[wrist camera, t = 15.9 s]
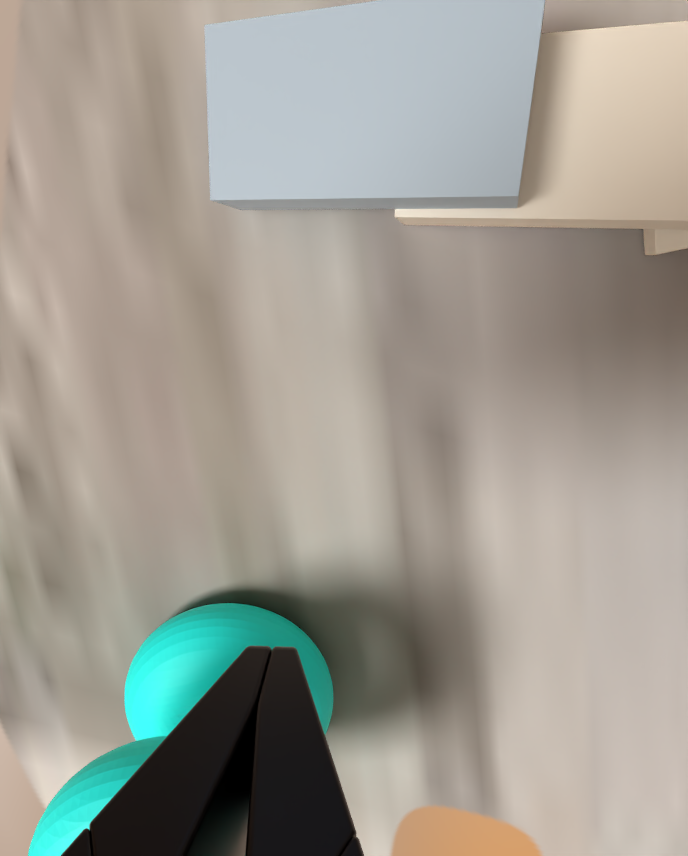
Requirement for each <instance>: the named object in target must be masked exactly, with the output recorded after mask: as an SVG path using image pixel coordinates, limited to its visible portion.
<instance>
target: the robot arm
mask: <svg viewBox="0 0 688 856" xmlns="http://www.w3.org/2000/svg"><path fill="white" fill-rule="evenodd" d="M89 828H90V830H89V829H87V828H86V829H84V830H83V831H82V832H81V833H80V834H79V835H78V837H77V838H76V839H75V840H74V841H73V842H72V843H71V844H70V846H69V847H68V848H67V849H66V850H65V851H64V852H63V853H62V855H61V856H364V854H363V851H362V848H361V844H360V841H359V839H358V838H357V837H356V830H355V827H354V824H353V821H352V818H351V815H350V811H349V808H348V805H347V802H346V799H345V796H344V793H343V790H342V787H341V784H340V781H339V777H338V774H337V771H336V768H335V765H334V762H333V759H332V756H331V753H330V750H329V747H328V743H327V740H326V737H325V734H324V731H323V728H322V725H321V722H320V719H319V716H318V713H317V709H316V706H315V703H314V700H313V697H312V694H311V691H310V688H309V685H308V682H307V679H306V675H305V672H304V669H303V666H302V663H301V660H300V657H299V654H298V651H297V649H296V648H295V647H280V646H276V647H274V648H273V649H271V648H270V647H269V646H248V647H247V648H245V649H244V651H243V652H242V653H241V654H240V655H239V656H238V657H237V658H236V660H235V661H234V662H233V663H232V664H231V665H230V666H229V667H228V669H227V670H226V671H225V672H224V673H223V674H222V675H221V676H220V678H219V679H218V680H217V681H216V682H215V683H214V684H213V685H212V687H211V688H210V689H209V690H208V691H207V692H206V693H205V694H204V695H203V697H202V698H201V699H200V700H199V701H198V702H197V703H196V704H195V706H194V707H193V708H192V709H191V710H190V711H189V712H188V713H187V715H186V716H185V717H184V718H183V719H182V720H181V721H180V722H179V724H178V725H177V726H176V727H175V728H174V729H173V730H172V731H171V733H170V734H169V735H168V736H167V737H166V738H165V739H164V740H163V742H162V743H161V744H160V745H159V746H158V747H157V748H156V749H155V751H154V752H153V753H152V754H151V755H150V756H149V757H148V758H147V760H146V761H145V762H144V763H143V764H142V765H141V766H140V767H139V768H138V770H137V771H136V772H135V773H134V774H133V775H132V776H131V777H130V779H129V780H128V781H127V782H126V783H125V784H124V785H123V786H122V788H121V789H120V790H119V791H118V792H117V793H116V794H115V795H114V797H113V798H112V799H111V800H110V801H109V802H108V803H107V804H106V806H105V807H104V808H103V809H102V810H101V811H100V812H99V813H98V815H97V816H96V817H95V818H94V819H93V820H92V821H91V822H90V825H89Z"/></svg>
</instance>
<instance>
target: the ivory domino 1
mask: <svg viewBox="0 0 688 856" xmlns="http://www.w3.org/2000/svg"><path fill="white" fill-rule="evenodd" d="M395 218H396V219H398V220H399V221H400V222H401V223H403V224H404V225H433V226H494V227H556V228H617V229H678V230H688V21H678V22H666V23H655V24H643V25H632V26H620V27H608V28H597V29H585V30H574V31H562V32H551V33H541V37H540V45H539V52H538V59H537V67H536V74H535V81H534V89H533V96H532V103H531V111H530V118H529V125H528V133H527V140H526V147H525V155H524V162H523V169H522V177H521V184H520V191H519V199H518V206H517V208H470V209H395Z"/></svg>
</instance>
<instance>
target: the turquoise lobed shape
mask: <svg viewBox="0 0 688 856" xmlns="http://www.w3.org/2000/svg"><path fill="white" fill-rule="evenodd" d="M248 646H269V647H270V648H271V649H273V648H274V647H276V646H280V647H295V648H296V649H297V651H298V654H299V657H300V660H301V663H302V666H303V669H304V672H305V675H306V679H307V682H308V685H309V688H310V691H311V694H312V697H313V700H314V703H315V706H316V709H317V713H318V716H319V719H320V722H321V725H322V728H323V731H324V734H326V732H327V729H328V727H329V723H330V720H331V716H332V711H333V684H332V679H331V676H330V672H329V669H328V666H327V664H326V661H325V659H324V657H323V656H322V654H321V652H320V651H319V649H318V648H317V646H316V645H315V644H314V643H313V641H312V640H311V639H310V638H309V637H308V636H307V634H306V633H305V632H303V631H302V630H301V629H300V628H299V627H297V626H296V625H295V624H294V623H292V622H291V621H289V620H287V619H286V618H284V617H282V616H280V615H278V614H276V613H274V612H271V611H269V610H266V609H263V608H259V607H256V606H251V605H246V604H237V603H218V604H210V605H204V606H200V607H196V608H193V609H190V610H188V611H185V612H183V613H181V614H178V615H176V616H174V617H173V618H171V619H169V620H168V621H166V622H165V623H163V624H162V625H161V626H159V627H158V628H157V629H156V630H155V631H154V632H153V633H152V634H151V635H150V636H149V637H148V638H147V639H146V640H145V641H144V643H143V644H142V645H141V647H140V648H139V650H138V652H137V653H136V655H135V657H134V659H133V661H132V663H131V665H130V669H129V672H128V675H127V679H126V684H125V711H126V716H127V719H128V723H129V726H130V729H131V731H132V733H133V736H134V738H135V739H136V741H135V742H131V743H128V744H126V745H123V746H121V747H118V748H116V749H114V750H112V751H110V752H108V753H106V754H104V755H102V756H100V757H98V758H97V759H95V760H93V761H92V762H90V763H89V764H88V765H86V766H85V767H84V768H83V769H81V770H80V771H79V772H78V773H76V774H75V775H74V776H73V777H72V778H71V779H70V780H69V781H68V782H67V783H66V784H65V785H64V786H63V787H62V788H61V789H60V791H59V792H58V793H57V794H56V795H55V797H54V798H53V799H52V801H51V802H50V804H49V805H48V807H47V809H46V810H45V812H44V814H43V816H42V817H41V819H40V821H39V823H38V825H37V828H36V830H35V833H34V836H33V839H32V842H31V845H30V849H29V853H28V856H61V855H62V853H63V852H64V851H65V850H66V849H67V848H68V847H69V846H70V844H71V843H72V842H73V841H74V840H75V839H76V838H77V837H78V835H79V834H80V833H81V832H82V831H83V830H84V829H86V828H87V829H89V830H90V828H89V825H90V822H91V821H92V820H93V819H94V818H95V817H96V816H97V815H98V813H99V812H100V811H101V810H102V809H103V808H104V807H105V806H106V804H107V803H108V802H109V801H110V800H111V799H112V798H113V797H114V795H115V794H116V793H117V792H118V791H119V790H120V789H121V788H122V786H123V785H124V784H125V783H126V782H127V781H128V780H129V779H130V777H131V776H132V775H133V774H134V773H135V772H136V771H137V770H138V768H139V767H140V766H141V765H142V764H143V763H144V762H145V761H146V760H147V758H148V757H149V756H150V755H151V754H152V753H153V752H154V751H155V749H156V748H157V747H158V746H159V745H160V744H161V743H162V742H163V740H164V739H165V738H166V737H167V736H168V735H169V734H170V733H171V731H172V730H173V729H174V728H175V727H176V726H177V725H178V724H179V722H180V721H181V720H182V719H183V718H184V717H185V716H186V715H187V713H188V712H189V711H190V710H191V709H192V708H193V707H194V706H195V704H196V703H197V702H198V701H199V700H200V699H201V698H202V697H203V695H204V694H205V693H206V692H207V691H208V690H209V689H210V688H211V687H212V685H213V684H214V683H215V682H216V681H217V680H218V679H219V678H220V676H221V675H222V674H223V673H224V672H225V671H226V670H227V669H228V667H229V666H230V665H231V664H232V663H233V662H234V661H235V660H236V658H237V657H238V656H239V655H240V654H241V653H242V652H243V651H244V649H245V648H247V647H248Z"/></svg>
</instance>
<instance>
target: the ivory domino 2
mask: <svg viewBox="0 0 688 856" xmlns="http://www.w3.org/2000/svg"><path fill="white" fill-rule="evenodd" d="M643 233H644V249H645V255H658V254H663V253H667V252H672V251H676V250H681V249H686V248H688V230H678V229H643Z"/></svg>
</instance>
